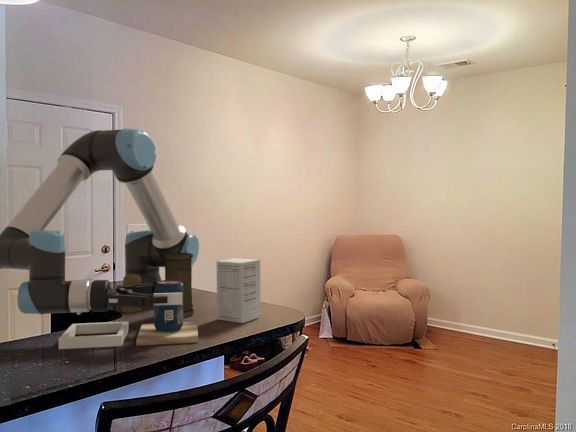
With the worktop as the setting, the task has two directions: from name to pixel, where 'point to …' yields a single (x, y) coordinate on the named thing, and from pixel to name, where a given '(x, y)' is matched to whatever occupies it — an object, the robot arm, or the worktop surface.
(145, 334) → the birch board
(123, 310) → the olive brown rounded figure
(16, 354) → the worktop surface
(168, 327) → the soda can
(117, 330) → the tray
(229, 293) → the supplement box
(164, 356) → the worktop surface
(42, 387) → the worktop surface
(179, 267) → the container
